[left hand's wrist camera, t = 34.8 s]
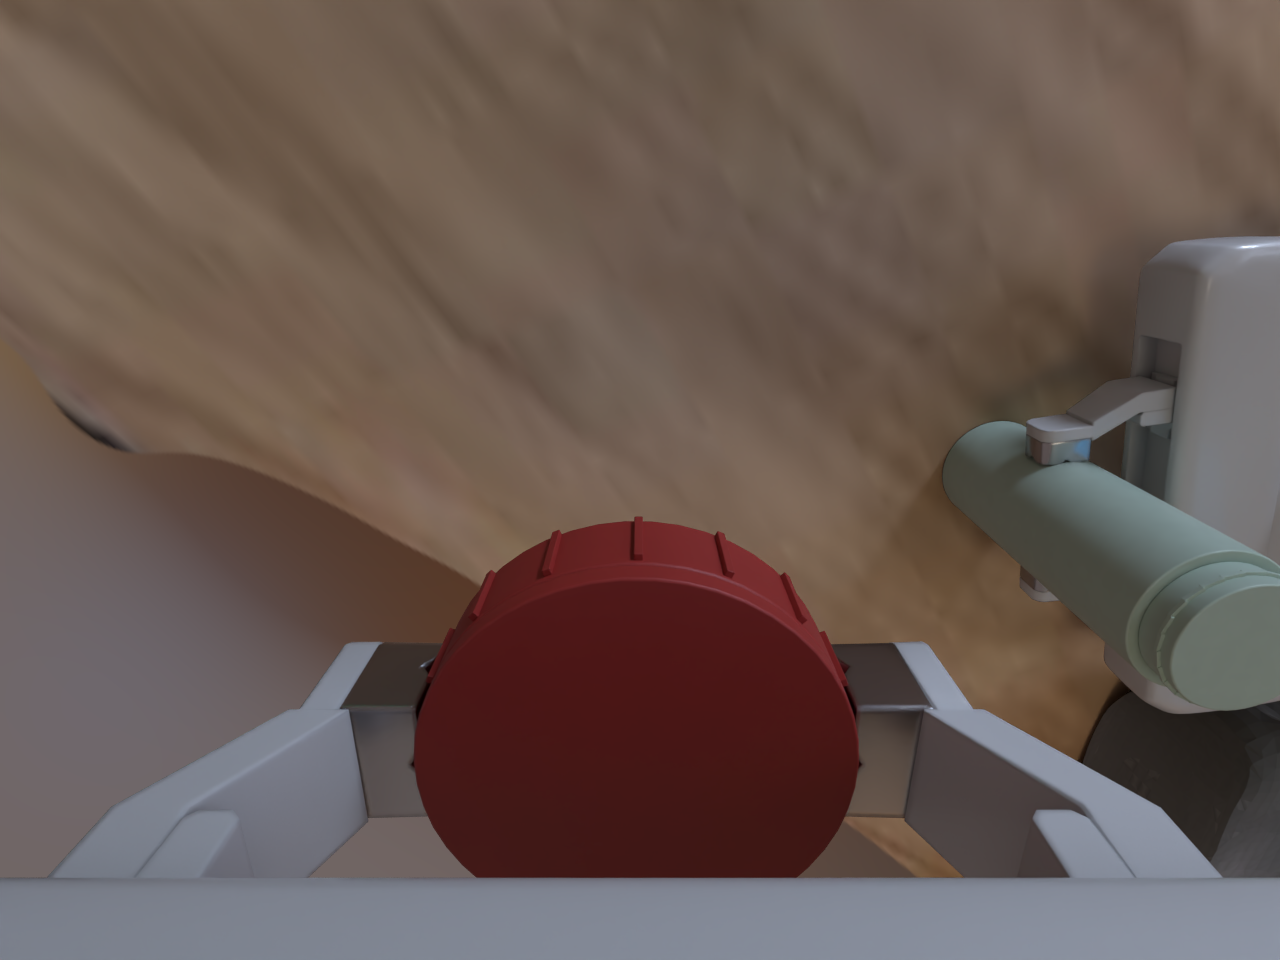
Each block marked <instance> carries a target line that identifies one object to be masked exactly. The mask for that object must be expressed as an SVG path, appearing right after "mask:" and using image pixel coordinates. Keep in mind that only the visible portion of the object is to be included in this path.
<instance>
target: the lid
mask: <svg viewBox="0 0 1280 960" xmlns="http://www.w3.org/2000/svg"><path fill="white" fill-rule="evenodd" d="M426 682H427V683H430V687H429V689H428V691H427V694H426V696H425V699H424V702H423V704H422V707H421V709H420V712H419V716H418V721H417V726H416V731H415V736H414V767H415V775H416V782H417V787H418V790H419V793H420V797H421V800H422V803H423V807H424V809H425V811H426V813H427V815H428V817H429V819H430V821H431V824H432V826H433V828H434V829H435V831H436V832H437V834H438V835H439V837H440V838H441V840H442V841H443V843H444V844H445V846H446V847H447V848H448V849H449V851H450V852H451V853H452V854H453V855H454V856H455V857H456V858H457V860H458V861H459V862H460V863H461V864H462V865H463V866H464V867H465V868H466V869H467V870H468V871H470V872H471V873H472V874H473V875H474V876H475V877H476V878H797V877H798V876H799V875H800V874H801V873H802V872H804V871H805V870H806V869H807V868H808V867H809V866H810V865H811V864H812V863H813V862H814V861H815V860H816V859H817V857H818V856H819V855H820V854H821V853H822V852H823V851H824V850H825V848H826V847H827V845H828V844H829V842H830V841H831V840H832V838H833V837H834V835H835V834H836V832H837V831H838V829H839V827H840V825H841V823H842V821H843V819H844V817H845V815H846V813H847V811H848V809H849V806H850V802H851V799H852V796H853V793H854V790H855V786H856V779H857V773H858V766H859V739H858V734H857V728H856V723H855V717H854V714H853V711H852V709H851V706H850V703H849V700H848V697H847V695H846V692H845V690H844V688H843V687H844V686H847V685H848V682H847V679H846V677H845V675H844V672H843V670H842V668H841V666H840V664H839V661H838V659H837V657H836V655H835V653H834V650H833V648H832V646H831V644H830V642H829V639H828V637H827V635H826V633H825V631H823V632H820V633H819V631H818V628H817V626H816V624H815V622H814V620H813V618H812V617H811V615H810V613H809V611H808V609H807V608H806V606H805V604H804V603H803V601H802V600H801V599H800V598H799V596H798V595H797V594H796V592H795V589H794V587H793V584H792V582H791V580H790V577H789V576H788V575H787V574H786V573H783V574H782V575H781V576H780V575H779V574H778V573H777V572H776V571H775V570H774V569H773V568H771V567H770V566H769V565H767V564H766V563H764V562H763V561H762V560H760V559H759V558H758V557H756V556H755V555H754V554H752V553H750V552H748V551H747V550H745V549H743V548H741V547H739V546H737V545H736V544H734V543H732V542H730V541H727V540H726V538H725V534H724V533H721V532H719V531H717V533H716V535H712V534H710V533H707V532H704V531H700V530H696V529H692V528H688V527H684V526H680V525H674V524H666V523H659V522H643V517H635V520H634V521H624V522H615V523H606V524H598V525H594V526H589V527H585V528H581V529H577V530H572V531H569V532H567V533H564V534H561V532H560V530H557V531H555V532H552V536H551V539H548V540H545V541H544V542H542V543H540V544H538V545H536V546H534V547H532V548H530V549H528V550H526V551H525V552H523V553H521V554H520V555H519V556H517V557H516V558H514V559H513V560H512V561H510V562H509V563H507V564H506V565H504V566H503V567H502V568H501V569H500V570H499V571H498V572H497V573H495V572H493V571H492V570H491V571H489V572H488V573H487V574H486V577H485V579H484V581H483V584H482V586H481V588H480V590H479V592H478V593H477V594H476V595H475V597H474V598H473V599H472V600H471V602H470V603H469V605H468V607H467V609H466V610H465V612H464V614H463V615H462V617H461V619H460V621H459V623H458V625H457V627H456V629H452V628H450V629H449V631H448V633H447V635H446V637H445V640H444V642H443V644H442V646H441V648H440V650H439V652H438V655H437V657H436V659H435V661H434V663H433V665H432V667H431V669H430V672H429V674H428V676H427V679H426Z"/></svg>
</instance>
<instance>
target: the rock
mask: <svg viewBox="0 0 1280 960" xmlns="http://www.w3.org/2000/svg"><path fill="white" fill-rule="evenodd" d="M1082 764H1083V765H1085V766H1087V767H1088V768H1090V769H1092V770H1094V771H1096V772H1097V773H1099V774H1101V775H1103V776H1105V777H1106V778H1108V779H1110V780H1112V781H1114V782H1115V783H1117V784H1119V785H1121V786H1123V787H1124V788H1126V789H1128V790H1130V791H1132V792H1133V793H1135V794H1137V795H1139V796H1141V797H1142V798H1144V799H1146V800H1148V801H1150V802H1151V803H1153V804H1155V805H1157V806H1159V807H1160V808H1162V810H1163V811H1164V812H1165V813H1166V814H1167V815H1168V816H1169V817H1170V819H1171V820H1172V821H1173V822H1174V823H1175V824H1176V825H1177V826H1178V828H1179V829H1180V830H1181V831H1182V832H1183V833H1184V834H1185V835H1186V836H1187V838H1188V839H1189V840H1190V841H1191V842H1192V843H1193V844H1194V845H1195V847H1196V848H1197V849H1198V850H1199V851H1200V852H1201V853H1202V854H1203V856H1204V857H1205V858H1206V859H1207V860H1208V861H1209V862H1210V863H1211V865H1212V866H1213V867H1214V868H1215V869H1216V870H1217V871H1218V872H1219V874H1220V875H1221V876H1222V877H1223V878H1280V701H1276V702H1271V703H1265V704H1260V705H1256V706H1253V707H1249V708H1245V709H1239V710H1229V711H1223V710H1220V711H1211V712H1202V713H1192V714H1173V713H1168V712H1164V711H1162V710H1160V709H1158V708H1155V707H1153V706H1151V705H1150V704H1148V703H1146V702H1145V701H1143V700H1142V699H1141V698H1139V697H1138V696H1137V695H1136V694H1135V693H1134V692H1133V691H1131V692H1129V693H1127V694H1126V695H1124V696H1123V697H1121V698H1120V699H1119V700H1117V701H1116V702H1115V703H1113V704H1112V705H1111V706H1110V707H1109V708H1108V710H1107V711H1106V712H1105V714H1104V715H1103V717H1102V718H1101V720H1100V722H1099V724H1098V726H1097V728H1096V730H1095V732H1094V734H1093V736H1092V738H1091V741H1090V743H1089V746H1088V748H1087V751H1086V754H1085V757H1084V760H1083V763H1082Z"/></svg>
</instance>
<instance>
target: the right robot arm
mask: <svg viewBox="0 0 1280 960" xmlns="http://www.w3.org/2000/svg"><path fill="white" fill-rule="evenodd" d="M1125 421H1126V427H1125V437H1124V448H1123V458H1122V469H1121V479H1123V480H1125V481H1127V482H1129V483H1131V484H1132V485H1134V486H1136V487H1138V488H1140V489H1142V490H1144V491H1145V492H1147V493H1149V494H1151V495H1153V496H1155V497H1156V498H1158V499H1160V500H1162V501H1164V502H1166V503H1168V504H1169V505H1171V506H1173V507H1175V508H1177V509H1179V510H1181V511H1182V512H1184V513H1186V514H1188V515H1190V516H1192V517H1194V518H1195V519H1197V520H1199V521H1201V522H1203V523H1205V524H1207V525H1208V526H1210V527H1212V528H1214V529H1216V530H1218V531H1219V532H1221V533H1223V534H1225V535H1227V536H1229V537H1231V538H1232V539H1234V540H1236V541H1238V542H1240V543H1242V544H1244V545H1245V546H1247V547H1249V548H1251V549H1253V550H1255V551H1257V552H1258V553H1260V554H1262V555H1264V556H1266V557H1268V558H1269V559H1271V560H1272V561H1274V562H1275V563H1277V564H1278V565H1279V566H1280V236H1242V237H1219V238H1206V239H1196V240H1186V241H1180V242H1174V243H1171V244H1169V245H1167V246H1166V247H1165V248H1163V249H1162V250H1161V251H1160V252H1159V253H1158V254H1156V255H1155V256H1154V257H1153V258H1152V259H1151V260H1149V261H1148V262H1147V263H1146V264H1145V265H1144V266H1143V268H1142V270H1141V273H1140V278H1139V288H1138V299H1137V310H1136V321H1135V331H1134V342H1133V352H1132V363H1131V373H1130V378H1124V379H1117V380H1111V381H1107V382H1106V383H1104V384H1103V385H1101V386H1100V387H1099V388H1097V389H1096V390H1095V391H1093V392H1092V393H1090V394H1089V395H1088V396H1086V397H1085V398H1083V399H1082V400H1081V401H1079V402H1078V403H1077V404H1075V405H1074V406H1072V407H1071V408H1070V409H1068V410H1067V411H1066V414H1061V415H1054V416H1047V417H1041V418H1034V419H1030V420H1028V421H1027V423H1026V447H1025V455H1026V456H1027V457H1029V458H1032V457H1033V459H1034V460H1035V462H1037V463H1038V464H1042V465H1058V464H1062V463H1063V462H1064V461H1066V460H1068V461H1070V462H1081V461H1088V460H1089V455H1090V446H1091V441H1093V440H1095V439H1097V438H1098V437H1100V436H1102V435H1103V434H1105V433H1107V432H1108V431H1110V430H1112V429H1113V428H1115V427H1117V426H1118V425H1120V424H1122V423H1123V422H1125ZM1020 588H1021V589H1022V590H1023V591H1024V592H1025V593H1026V594H1028V595H1029V596H1030V597H1031V598H1032V599H1033V600H1036V601H1040V602H1050V601H1058V599H1057V598H1056V597H1055V596H1054V595H1053V594H1052V593H1051V592H1050V591H1049V590H1048V589H1046V588H1045V587H1044V586H1043V585H1042V584H1041V583H1040V582H1039V581H1038V580H1037V579H1035V578H1034V577H1033V576H1032V575H1031V574H1030V573H1029V572H1028V571H1027V570H1026V569H1024V568H1023V567H1022V566H1021V567H1020ZM1104 661H1105V663H1106V665H1107V666H1108V667H1109V669H1110V670H1111V671H1112V672H1113V673H1114V674H1115V675H1116V676H1117V677H1118V678H1119V679H1120V680H1121V681H1122V682H1123V683H1124V684H1125V685H1126V686H1127V687H1128V688H1129V689H1131V690H1132V691H1133V692H1134V693H1135V694H1136V695H1137V696H1138V697H1139V698H1141V699H1142V700H1143V701H1145V702H1146V703H1148V704H1150V705H1151V706H1153V707H1155V708H1158V709H1160V710H1162V711H1164V712H1168V713H1173V714H1192V713H1202V712H1211V711H1220V710H1212V709H1207V708H1204V707H1200V706H1198V705H1196V704H1191V703H1189V702H1187V701H1185V700H1183V699H1181V698H1180V697H1178V696H1176V695H1174V694H1173V693H1172V692H1171V691H1170V690H1169V689H1168V688H1167V687H1164V686H1161V685H1158V684H1156V683H1153V682H1151V681H1149V680H1148V679H1146V678H1145V677H1143V676H1142V675H1141V674H1140V673H1139V672H1138V671H1136V670H1135V669H1134V668H1133V667H1132V666H1131V665H1130V664H1129V663H1128V662H1127V661H1125V660H1124V659H1123V658H1122V657H1121V656H1120V655H1119V654H1118V653H1117V652H1116V651H1114V650H1113V649H1112V648H1111V647H1110V646H1109V645H1108V644H1107V643H1106V642H1105V647H1104ZM1276 701H1280V695H1279V696H1277V697H1275V698H1273V699H1271V700H1269V701H1267V702H1265V703H1271V702H1276ZM1265 703H1262V704H1265ZM1259 705H1260V704H1259Z"/></svg>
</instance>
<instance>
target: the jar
mask: <svg viewBox="0 0 1280 960" xmlns="http://www.w3.org/2000/svg"><path fill="white" fill-rule="evenodd" d="M1025 447H1026V427H1025V426H1023V425H1021V424H1018V423H1015V422H1009V421H996V422H991V423H986V424H983V425H980V426H978V427H976V428H974V429H972V430H971V431H969V432H968V433H966V434H965V435H964V436H962V437H961V438H960V439H959V440H958V441H957V442H956V443H955V445H954V446H953V447H952V449H951V450H950V452H949V454H948V456H947V458H946V460H945V463H944V467H943V475H942V478H943V486H944V489H945V492H946V494H947V496H948V498H949V499H950V500H951V502H952V503H953V504H954V505H955V506H956V507H958V508H959V509H960V510H961V511H962V512H963V513H964V514H965V515H966V516H967V517H968V518H970V519H971V520H972V521H973V522H974V523H975V524H976V525H977V526H978V527H979V528H981V529H982V530H983V531H984V532H985V533H986V534H987V535H988V536H989V537H990V538H992V539H993V540H994V541H995V542H996V543H997V544H998V545H999V546H1000V547H1001V548H1003V549H1004V550H1005V551H1006V552H1007V553H1008V554H1009V555H1010V556H1011V557H1012V558H1013V559H1015V560H1016V561H1017V562H1018V563H1019V564H1020V565H1021V566H1022V567H1023V568H1024V569H1026V570H1027V571H1028V572H1029V573H1030V574H1031V575H1032V576H1033V577H1034V578H1035V579H1037V580H1038V581H1039V582H1040V583H1041V584H1042V585H1043V586H1044V587H1045V588H1046V589H1048V590H1049V591H1050V592H1051V593H1052V594H1053V595H1054V596H1055V597H1056V598H1057V599H1058V600H1060V601H1061V602H1062V603H1063V604H1064V605H1065V606H1066V607H1067V608H1068V609H1069V610H1071V611H1072V612H1073V613H1074V614H1075V615H1076V616H1077V617H1078V618H1079V619H1080V620H1082V621H1083V622H1084V623H1085V624H1086V625H1087V626H1088V627H1089V628H1090V629H1091V630H1093V631H1094V632H1095V633H1096V634H1097V635H1098V636H1099V637H1100V638H1101V639H1102V640H1103V641H1105V642H1106V643H1107V644H1108V645H1109V646H1110V647H1111V648H1112V649H1113V650H1114V651H1116V652H1117V653H1118V654H1119V655H1120V656H1121V657H1122V658H1123V659H1124V660H1125V661H1127V662H1128V663H1129V664H1130V665H1131V666H1132V667H1133V668H1134V669H1135V670H1136V671H1138V672H1139V673H1140V674H1141V675H1142V676H1143V677H1145V678H1146V679H1148V680H1149V681H1151V682H1153V683H1156V684H1158V685H1161V686H1164V687H1167V688H1168V689H1169V690H1170V691H1171V692H1172V693H1173V694H1174V695H1176V696H1178V697H1180V698H1181V699H1183V700H1185V701H1187V702H1189V703H1191V704H1196V705H1198V706H1200V707H1204V708H1207V709H1212V710H1223V711H1229V710H1239V709H1245V708H1249V707H1253V706H1256V705H1259V704H1262V703H1265V702H1267V701H1269V700H1271V699H1273V698H1275V697H1277V696H1279V695H1280V566H1279V565H1278V564H1277V563H1275V562H1274V561H1272V560H1271V559H1269V558H1268V557H1266V556H1264V555H1262V554H1260V553H1258V552H1257V551H1255V550H1253V549H1251V548H1249V547H1247V546H1245V545H1244V544H1242V543H1240V542H1238V541H1236V540H1234V539H1232V538H1231V537H1229V536H1227V535H1225V534H1223V533H1221V532H1219V531H1218V530H1216V529H1214V528H1212V527H1210V526H1208V525H1207V524H1205V523H1203V522H1201V521H1199V520H1197V519H1195V518H1194V517H1192V516H1190V515H1188V514H1186V513H1184V512H1182V511H1181V510H1179V509H1177V508H1175V507H1173V506H1171V505H1169V504H1168V503H1166V502H1164V501H1162V500H1160V499H1158V498H1156V497H1155V496H1153V495H1151V494H1149V493H1147V492H1145V491H1144V490H1142V489H1140V488H1138V487H1136V486H1134V485H1132V484H1131V483H1129V482H1127V481H1125V480H1123V479H1121V478H1119V477H1118V476H1116V475H1114V474H1112V473H1110V472H1108V471H1106V470H1105V469H1103V468H1101V467H1099V466H1097V465H1095V464H1094V463H1092V462H1090V461H1081V462H1070V461H1068V460H1066V461H1064V462H1063V463H1062V464H1058V465H1042V464H1038V463H1037V462H1035V460H1034V459H1033V457H1032V458H1029V457H1027V456H1026V455H1025Z"/></svg>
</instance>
